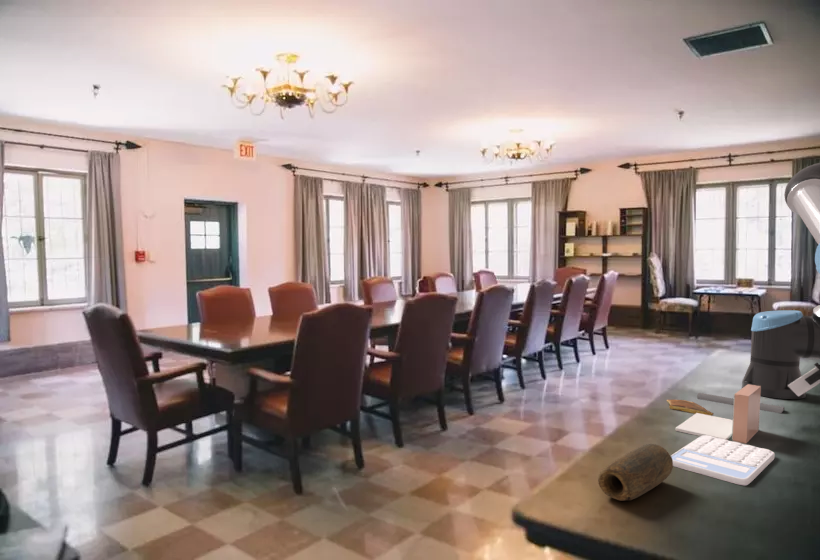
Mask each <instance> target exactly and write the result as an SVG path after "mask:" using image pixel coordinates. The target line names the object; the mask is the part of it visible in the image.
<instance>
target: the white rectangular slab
mask: <svg viewBox="0 0 820 560" xmlns="http://www.w3.org/2000/svg"><path fill="white" fill-rule="evenodd" d="M732 425H733V419H730V418H724V417H720V416H714V415H712V416H710V415H705V414H700V413H696V414H694V413H693V415H692V416H690V417H689V418H687V419H686V420H685V421H683V422H682V423H680V424H679V425H677V426H676V427H675V428H674V429H675V430H674V431H676V432H680V433H684V434H689V435H692V436H698V437H700V436H705V435H708V436H712V437H715V438H721V439H725V440H728V441H729V439H730V438H732Z"/></svg>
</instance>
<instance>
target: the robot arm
mask: <svg viewBox="0 0 820 560" xmlns="http://www.w3.org/2000/svg"><path fill="white" fill-rule="evenodd" d="M783 195H784V201H785V204H786V206H787V208H789V210H790V211H791V212H792V213H794V214H795V215H798V216H800V218H801V220H802V221H803V223H804V225H805V227H806V228H807V229H808V231H809V232H810V234H811V236H812V237H813V239H814V240H815V242H816V243H817V246H816V249H815V253H814V263H815V270H816V272H817V273H818V274H819V275H820V162H818V163H814V164H811V165H809V166H806V167H804V168H802V169H801V170H799V171H798V172H797V173H795V174H794V175H793V176H792V177H791V178H790V180H789V181H788V182H787V184H786V186H785V189H784V194H783ZM750 331H751V336H750V337H751V340H750V344H751V345H750V357H749V358H750V361H749V365H748V368H747V370H746V371H745V374H744V376H743V378H742V381H741V389H742V388H743V387H745V386H746V385H748V384H750V385H756V386H761V395H760V397H766V398H774V399H784V400H800V399H805V398H806V397H807V396H806V395H807V393H806V392H808V391H810V390H812V389H813V388H815V387H816V386H818V385H819V384H820V364H819V363H818V362H816V363H814V364H813V365H814V366H815V367H814V368H812V369H811V370H809V371H808V372H806V373H804V374H803V375H802V373H801V369H800V363H801V362H800V361H801V359H812V360H813V359H814V360H815V359H816V360H817V359H818V360H820V304H819V305H817V306H815V307H814V308H813V309H812V314H811V316H809V315H808V316H807V315H804V314H803V312H802V311H801V310H795V309H793V310H792V309H788V310H786V309H783V310H781V309H780V310H779V309H778V310H769V311H760V312H757V313H755V314H754V316H753V318H752V322H751V329H750Z"/></svg>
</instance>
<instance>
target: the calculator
mask: <svg viewBox="0 0 820 560" xmlns="http://www.w3.org/2000/svg"><path fill="white" fill-rule="evenodd" d="M670 456H671V457H672V460H673V467H675V468H678V469H682V470H684V471H685V470H686V471H689V472H693V473H695V474H699V475H703V476H706V477H711V478H714V479H718V480H720V481H724V482H728V483H732V484H736V485H739V486H749V484H750V483H752V482H753V481H754V479H756V478H757V477H758V476H759V475H760V474H761V472H763V471H764V470H765V469H766V468H767V467H768V465H770V464H771V463H772V462H773V461H774V459H775V458H776V455H775V452H774V451H772V450H770V449H768V448H763V447H762V448H761V447H757V446H755V445H750V444H745V443H741V442H736V441H733V440H732V441H731V440H729V439H728V440H725V439H721V438H715V437H712V436H708V435H705V436H698V437H697V438H695V439H694V440H693V441H691V442H689V443H687V444H686V445H684V446H683V447H682V448H680V449H679V450H677V451H676V452H673V454H671V455H670Z"/></svg>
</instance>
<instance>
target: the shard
mask: <svg viewBox="0 0 820 560" xmlns="http://www.w3.org/2000/svg"><path fill="white" fill-rule="evenodd" d="M666 402H667V404H668V405H669V408H668V409H670V410H676V411H681V412H685V413H690V414H693V415H694V414H696V413H700V414H705V415H710V416H714V412H711V411H709V410H708V409H706V408H705V407H704V406H702V405H700V404H699V403H696V402H694V401H690V400H689V401H688V400H685V399H666Z"/></svg>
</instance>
